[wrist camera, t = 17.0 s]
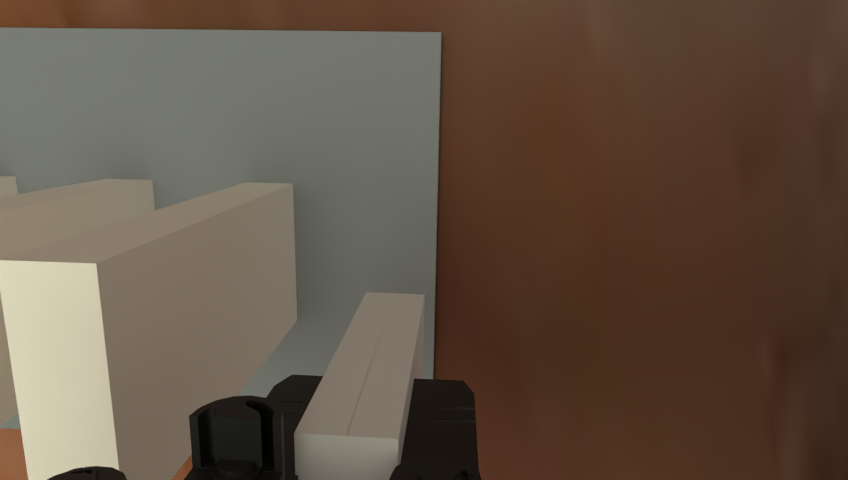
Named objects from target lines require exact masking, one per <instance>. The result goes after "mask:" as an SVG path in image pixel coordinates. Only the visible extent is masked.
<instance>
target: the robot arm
mask: <svg viewBox="0 0 848 480" xmlns="http://www.w3.org/2000/svg"><path fill="white" fill-rule="evenodd" d="M424 305H425V294H402V293H377V292H366V294H365V296H364V298H363V300H362V302H361V304H360V306H359V308H358V309H357V311H356V313H355V315H354V317H353V319H352V321H351V323H350V325H349V327H348V329H347V331H346V333H345V335H344V337H343V339H342V341H341V343H340V345H339V347H338V348H337V350H336V352H335V354H334V356H333V358H332V360H331V362H330V364H329V366H328V368H327V370H326V372H325V374H324V376H312V375H290V376H289V377H287V378H286V379H284V380H282V381H281V382H279V383H278V384H276V385H275V386H274V387H273V388H272V390H271V391H270V392H269V394H268V395H267V397H266V398H264V397H258V396H252V395H250V396H233V397H228V398H224V399H219V400H215V401H213V402H211V403H209V404H206V405H204V406H202V407H200V408H198V409H197V410H196V411H195V412H193V413H192V414H191V415H189V424H190V437H191V450H192V463H193V468H192V470H191V471H190V472H189V474H188V475H187V476H186V478H185V479H184V480H482V479H481V477H480V474H479V469H478V452H477V435H476V418H475V401H474V393H473V392H472V391H471V389H470V388H469V387H468V386H467V385H466V384H465V382H464V381H457V380H436V379H423V346H424ZM47 480H127V479H126V476H125V474H124V473H123V472H121V471H119V470H117V469H115V468H113V467H101V466H91V467H85V468H83V467H81V468H76V469H72V470H70V471H67V472H64V473H61V474H58V475H55V476H53V477H51V478H49V479H47Z"/></svg>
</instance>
